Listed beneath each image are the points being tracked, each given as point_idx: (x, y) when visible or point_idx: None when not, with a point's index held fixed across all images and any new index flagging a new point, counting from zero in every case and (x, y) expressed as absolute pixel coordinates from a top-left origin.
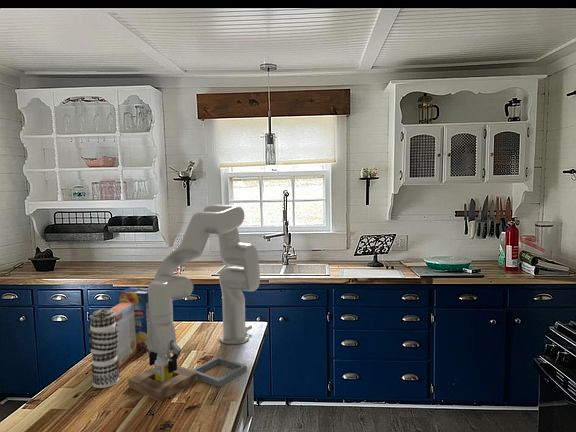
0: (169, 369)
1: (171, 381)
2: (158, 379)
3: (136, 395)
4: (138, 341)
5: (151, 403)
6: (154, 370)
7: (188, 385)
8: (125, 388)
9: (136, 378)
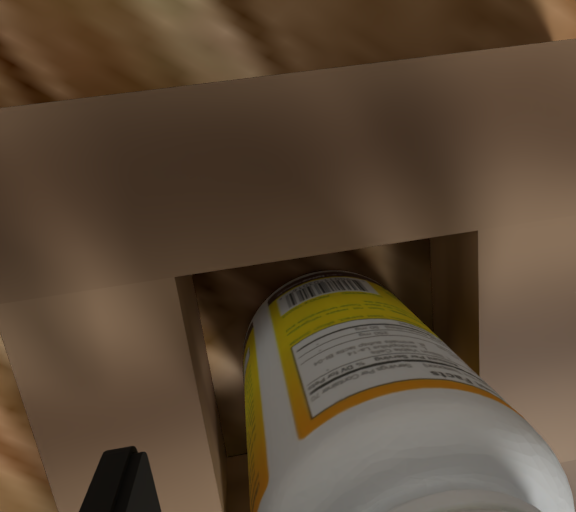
0: (90, 497)
1: (126, 385)
2: (311, 303)
3: (335, 14)
4: None
5: (30, 32)
6: (546, 376)
7: None
8: (570, 16)
9: (560, 115)
